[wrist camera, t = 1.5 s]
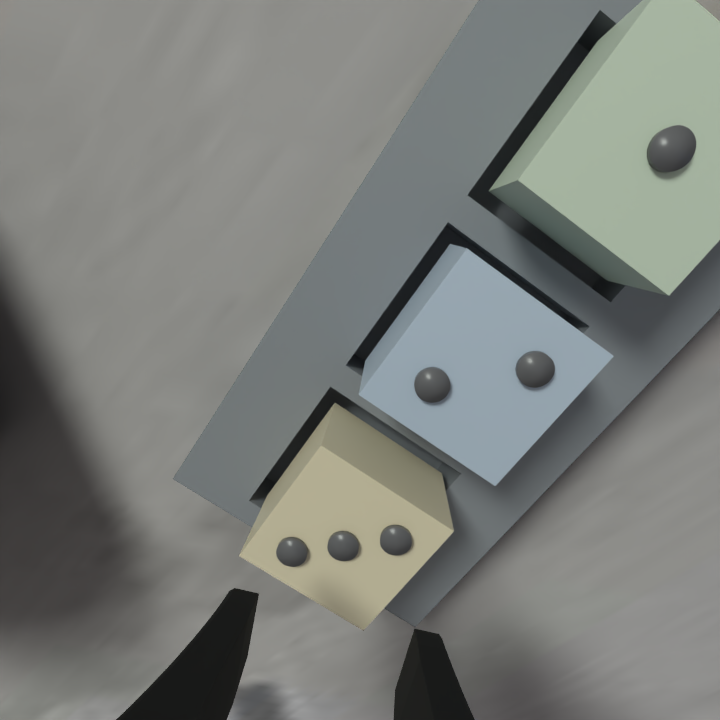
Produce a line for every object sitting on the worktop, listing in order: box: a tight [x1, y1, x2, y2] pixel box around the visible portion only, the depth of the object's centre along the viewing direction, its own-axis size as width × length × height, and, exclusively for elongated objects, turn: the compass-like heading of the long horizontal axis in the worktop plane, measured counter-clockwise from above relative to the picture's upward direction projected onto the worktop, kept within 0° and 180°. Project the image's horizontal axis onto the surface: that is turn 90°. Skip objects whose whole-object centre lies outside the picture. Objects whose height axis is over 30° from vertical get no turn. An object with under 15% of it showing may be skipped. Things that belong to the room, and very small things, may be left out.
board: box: [173, 0, 720, 627], centre depth 17 cm, size 12×22×2 cm, turn 146°
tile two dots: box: [359, 244, 614, 486], centre depth 14 cm, size 5×5×4 cm
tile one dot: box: [489, 0, 720, 296], centre depth 12 cm, size 5×5×4 cm
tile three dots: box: [239, 403, 454, 631], centre depth 16 cm, size 5×5×4 cm
